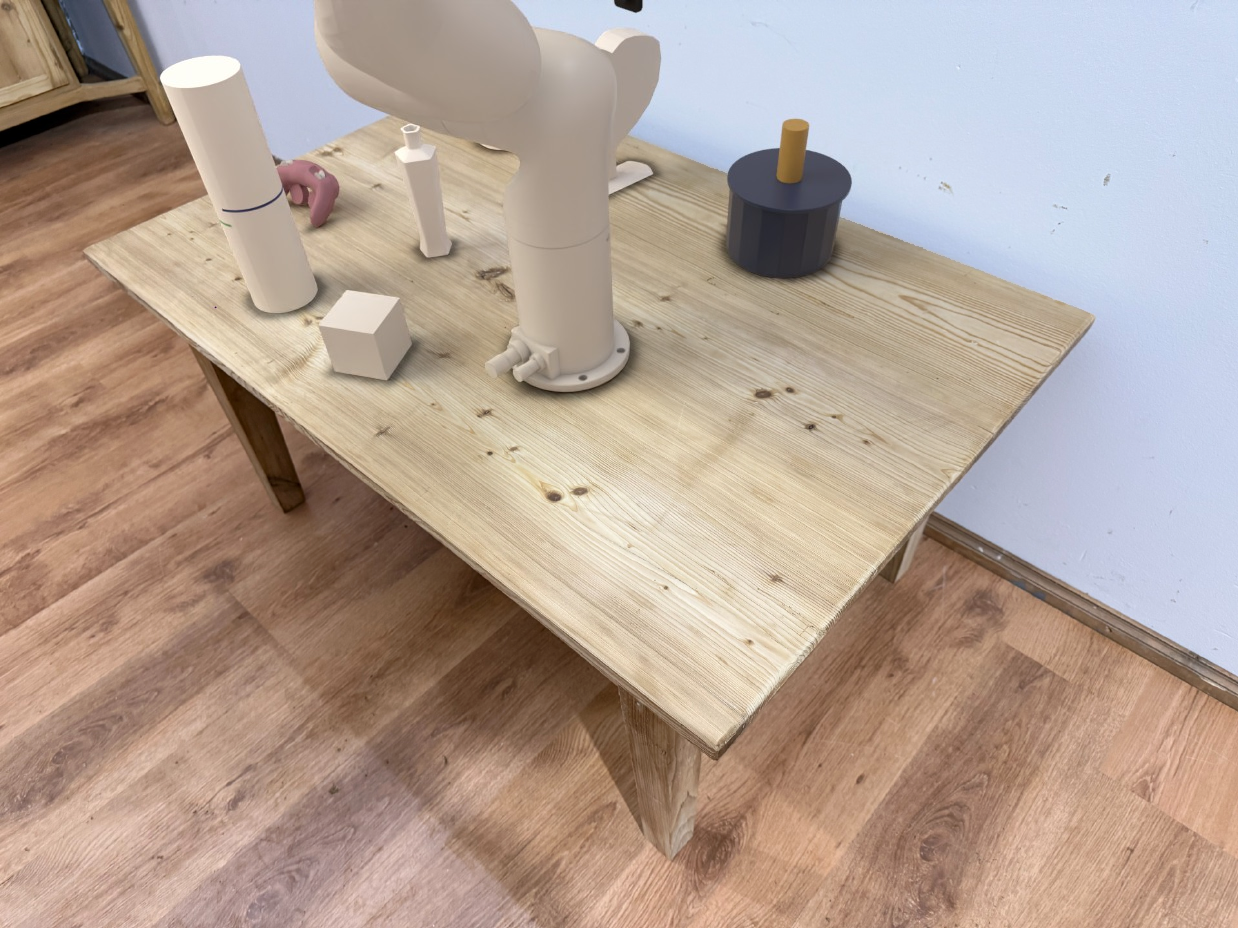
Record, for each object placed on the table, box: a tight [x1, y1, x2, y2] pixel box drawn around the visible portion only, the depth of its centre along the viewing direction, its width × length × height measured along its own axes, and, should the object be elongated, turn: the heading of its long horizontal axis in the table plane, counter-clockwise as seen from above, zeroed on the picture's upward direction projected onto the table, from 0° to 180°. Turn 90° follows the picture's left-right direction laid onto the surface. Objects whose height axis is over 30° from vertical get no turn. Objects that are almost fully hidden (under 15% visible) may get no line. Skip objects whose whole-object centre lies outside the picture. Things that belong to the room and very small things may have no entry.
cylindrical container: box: [159, 55, 318, 314], centre depth 88 cm, size 7×7×25 cm
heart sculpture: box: [593, 26, 662, 196], centre depth 105 cm, size 16×5×18 cm, turn 131°
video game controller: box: [276, 159, 340, 227], centre depth 108 cm, size 10×5×7 cm, turn 58°
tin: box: [725, 188, 843, 279], centre depth 97 cm, size 12×12×8 cm
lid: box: [726, 118, 853, 214], centre depth 92 cm, size 14×14×7 cm
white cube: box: [317, 289, 413, 381], centre depth 87 cm, size 6×6×6 cm
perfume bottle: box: [394, 123, 453, 259], centre depth 97 cm, size 5×4×15 cm
